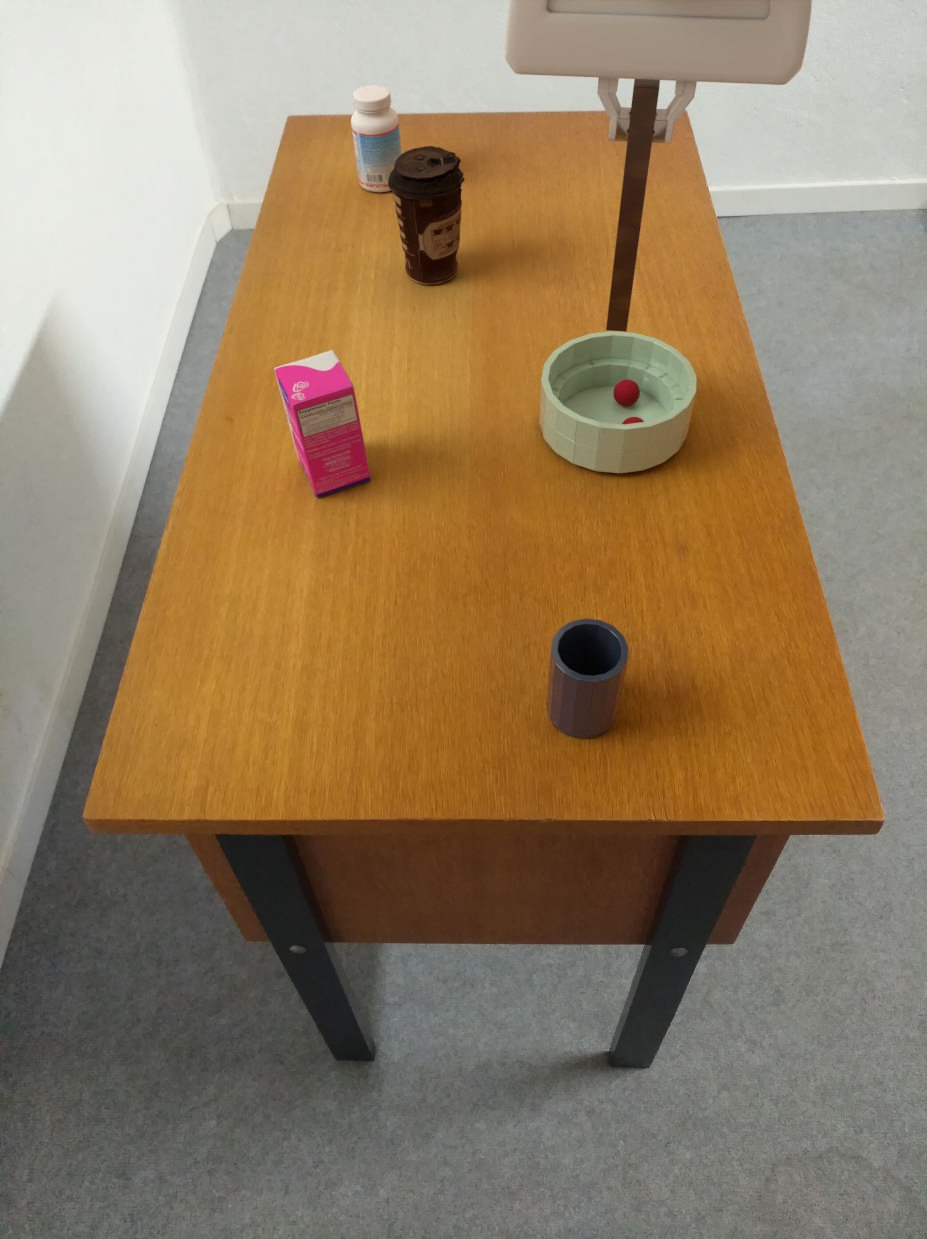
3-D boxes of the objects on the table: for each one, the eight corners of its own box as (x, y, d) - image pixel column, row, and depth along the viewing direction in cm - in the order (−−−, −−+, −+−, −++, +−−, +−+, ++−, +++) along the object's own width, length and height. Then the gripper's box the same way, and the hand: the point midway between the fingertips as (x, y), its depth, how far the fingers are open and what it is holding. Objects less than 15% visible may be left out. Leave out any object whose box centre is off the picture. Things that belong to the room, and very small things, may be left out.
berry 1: (638, 396, 90) (642, 375, 88) (637, 412, 89) (640, 391, 87) (613, 394, 91) (615, 373, 89) (611, 410, 89) (613, 389, 87)
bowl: (687, 386, 92) (697, 337, 87) (684, 484, 84) (695, 435, 79) (548, 375, 94) (551, 326, 89) (531, 470, 85) (533, 421, 81)
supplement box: (296, 462, 87) (272, 365, 78) (353, 444, 88) (336, 346, 79) (314, 500, 84) (291, 403, 75) (373, 481, 85) (357, 384, 76)
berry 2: (646, 433, 87) (649, 412, 85) (644, 451, 86) (648, 430, 84) (619, 430, 87) (622, 409, 85) (617, 448, 86) (620, 427, 84)
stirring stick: (627, 319, 80) (660, 77, 64) (626, 332, 79) (659, 88, 63) (607, 318, 80) (634, 76, 64) (606, 330, 79) (633, 87, 63)
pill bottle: (413, 179, 120) (406, 89, 111) (383, 198, 117) (373, 108, 108) (379, 167, 122) (369, 78, 113) (349, 185, 119) (337, 95, 111)
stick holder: (619, 683, 71) (630, 623, 64) (614, 743, 67) (625, 685, 61) (551, 675, 71) (555, 614, 65) (543, 733, 68) (547, 675, 62)
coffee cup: (483, 264, 107) (480, 153, 97) (445, 299, 103) (438, 187, 93) (422, 245, 110) (414, 135, 100) (383, 278, 106) (370, 168, 96)
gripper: (495, -77, 55) (495, 152, 66) (840, -71, 52) (781, 167, 63) (509, -109, 59) (507, 113, 70) (832, -105, 56) (777, 125, 67)
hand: (640, 138), depth 66 cm, fingers closed on stirring stick, 2 cm apart
